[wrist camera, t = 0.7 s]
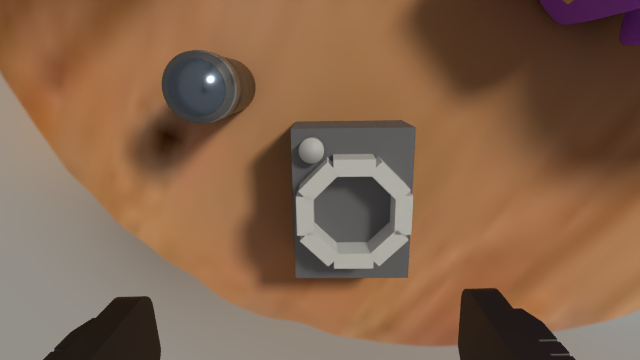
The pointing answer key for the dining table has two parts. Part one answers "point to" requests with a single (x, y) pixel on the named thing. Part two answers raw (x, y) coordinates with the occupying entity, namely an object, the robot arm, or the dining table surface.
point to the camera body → (352, 198)
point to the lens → (206, 86)
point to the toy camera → (598, 14)
